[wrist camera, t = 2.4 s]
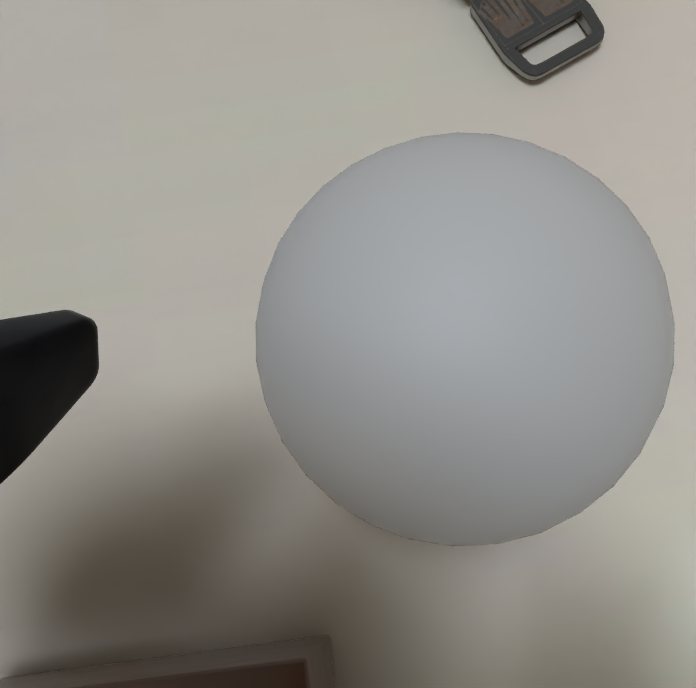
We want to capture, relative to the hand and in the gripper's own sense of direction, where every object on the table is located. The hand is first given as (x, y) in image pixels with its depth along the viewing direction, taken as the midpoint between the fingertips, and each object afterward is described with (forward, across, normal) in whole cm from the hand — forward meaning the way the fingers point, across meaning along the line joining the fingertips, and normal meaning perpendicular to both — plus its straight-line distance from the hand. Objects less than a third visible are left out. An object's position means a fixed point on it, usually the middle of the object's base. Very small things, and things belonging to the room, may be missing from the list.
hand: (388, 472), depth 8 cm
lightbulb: (+8, 0, +5) cm, 10 cm away
